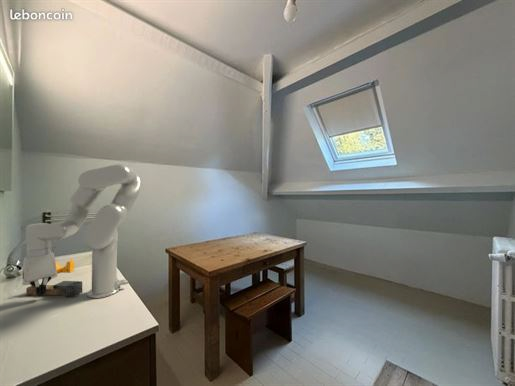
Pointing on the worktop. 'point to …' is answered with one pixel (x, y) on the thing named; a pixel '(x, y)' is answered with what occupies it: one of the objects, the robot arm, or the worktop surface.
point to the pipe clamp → (67, 268)
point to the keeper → (70, 287)
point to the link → (49, 291)
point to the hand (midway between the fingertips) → (41, 294)
